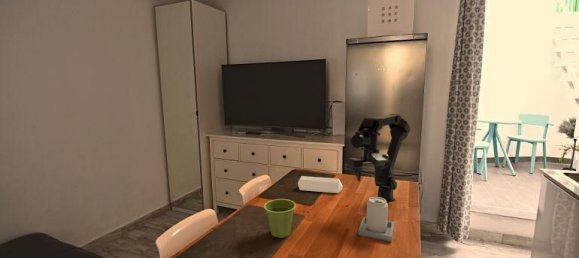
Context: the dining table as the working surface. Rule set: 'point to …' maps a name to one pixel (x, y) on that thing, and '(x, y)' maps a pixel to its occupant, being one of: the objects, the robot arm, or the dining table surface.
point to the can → (377, 214)
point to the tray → (380, 236)
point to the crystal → (320, 184)
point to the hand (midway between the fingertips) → (367, 180)
